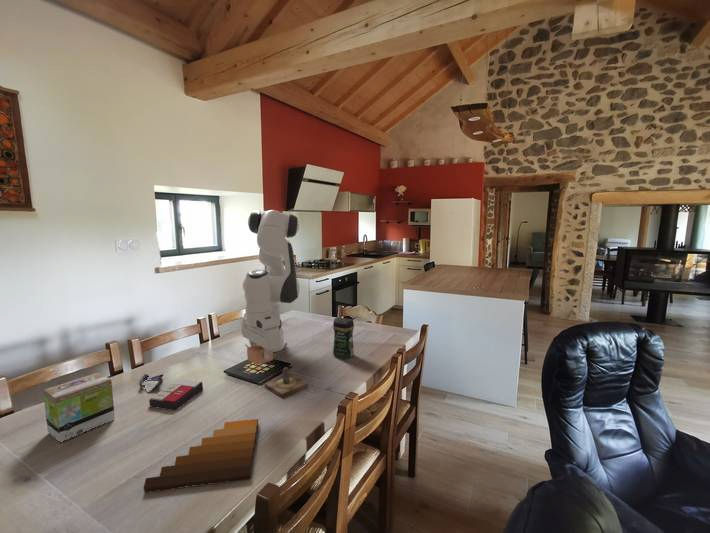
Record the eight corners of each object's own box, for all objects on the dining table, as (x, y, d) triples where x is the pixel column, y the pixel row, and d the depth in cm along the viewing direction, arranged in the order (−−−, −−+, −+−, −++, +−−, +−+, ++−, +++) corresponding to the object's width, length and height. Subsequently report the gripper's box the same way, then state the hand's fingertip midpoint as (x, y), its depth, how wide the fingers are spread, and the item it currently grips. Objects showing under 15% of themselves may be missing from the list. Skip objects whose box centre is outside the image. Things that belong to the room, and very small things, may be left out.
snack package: (126, 394, 135) (157, 393, 135) (126, 377, 135) (156, 376, 135) (145, 384, 147) (173, 383, 147) (145, 368, 147) (173, 368, 147)
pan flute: (144, 495, 87) (249, 482, 91) (142, 483, 86) (249, 470, 91) (176, 434, 111) (258, 425, 116) (175, 424, 111) (257, 415, 115)
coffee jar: (330, 356, 169) (330, 319, 166) (339, 351, 176) (338, 314, 173) (348, 360, 165) (348, 322, 162) (356, 354, 171) (356, 317, 169)
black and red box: (148, 398, 125) (178, 377, 139) (149, 409, 126) (179, 387, 140) (174, 402, 123) (202, 380, 137) (176, 413, 123) (203, 390, 138)
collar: (247, 359, 125) (247, 347, 125) (263, 354, 130) (263, 342, 129) (256, 365, 121) (256, 353, 120) (273, 359, 125) (272, 347, 124)
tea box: (60, 444, 105) (54, 398, 103) (47, 433, 110) (41, 389, 108) (116, 420, 118) (111, 378, 116) (102, 411, 123) (97, 370, 121)
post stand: (264, 386, 140) (264, 367, 139) (290, 376, 148) (289, 358, 147) (282, 397, 132) (281, 377, 130) (308, 386, 140) (307, 367, 139)
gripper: (236, 312, 128) (237, 348, 130) (266, 326, 113) (267, 367, 116) (252, 309, 132) (253, 344, 134) (283, 322, 118) (283, 361, 120)
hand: (260, 355), depth 125 cm, fingers closed on collar, 6 cm apart
